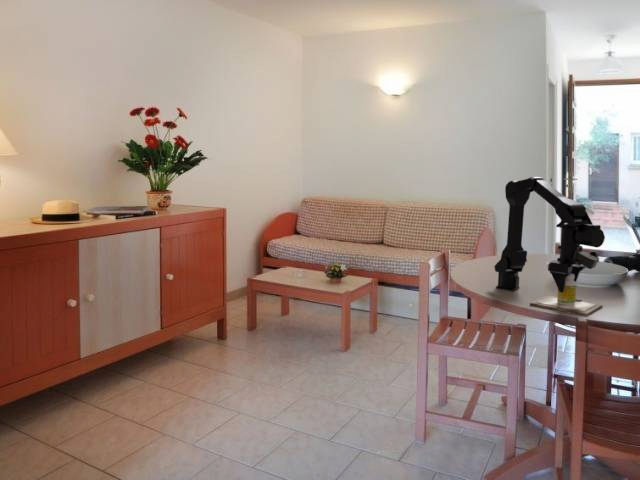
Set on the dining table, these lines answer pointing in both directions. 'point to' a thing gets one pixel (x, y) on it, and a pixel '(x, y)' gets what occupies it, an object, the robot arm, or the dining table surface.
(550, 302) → the clipboard
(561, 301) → the supplement bottle
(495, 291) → the dining table surface
